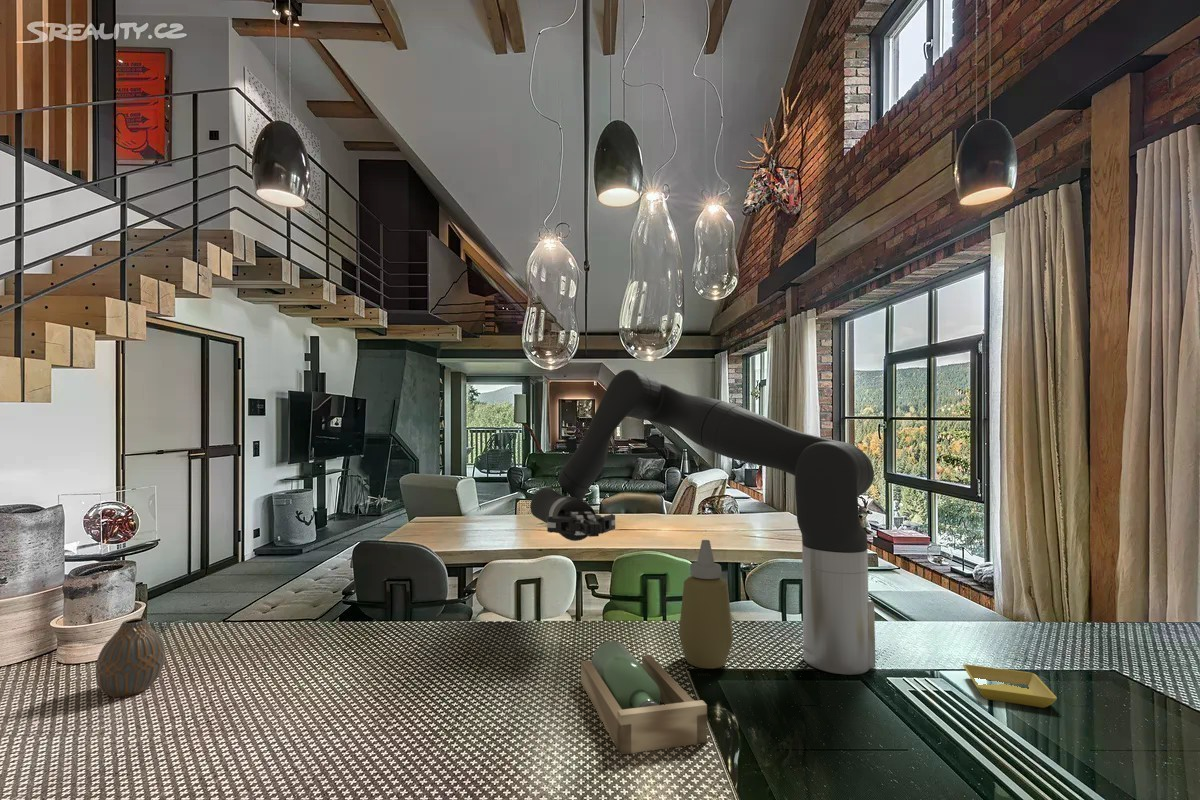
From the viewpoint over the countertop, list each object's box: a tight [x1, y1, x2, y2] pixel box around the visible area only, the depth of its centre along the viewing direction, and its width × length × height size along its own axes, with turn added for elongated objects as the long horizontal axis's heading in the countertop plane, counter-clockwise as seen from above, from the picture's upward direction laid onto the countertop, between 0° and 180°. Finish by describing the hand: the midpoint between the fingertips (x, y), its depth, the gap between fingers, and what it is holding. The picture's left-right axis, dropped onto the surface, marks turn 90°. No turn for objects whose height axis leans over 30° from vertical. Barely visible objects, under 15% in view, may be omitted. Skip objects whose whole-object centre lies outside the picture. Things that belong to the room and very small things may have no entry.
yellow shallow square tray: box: [962, 664, 1058, 709], centre depth 76 cm, size 9×9×2 cm
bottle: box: [591, 640, 661, 710], centre depth 70 cm, size 5×5×16 cm
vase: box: [95, 617, 166, 698], centre depth 73 cm, size 7×7×9 cm
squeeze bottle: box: [678, 539, 734, 669], centre depth 85 cm, size 8×8×18 cm
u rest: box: [580, 654, 708, 755], centre depth 70 cm, size 10×18×4 cm, turn 16°
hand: (594, 530), depth 91 cm, fingers closed
